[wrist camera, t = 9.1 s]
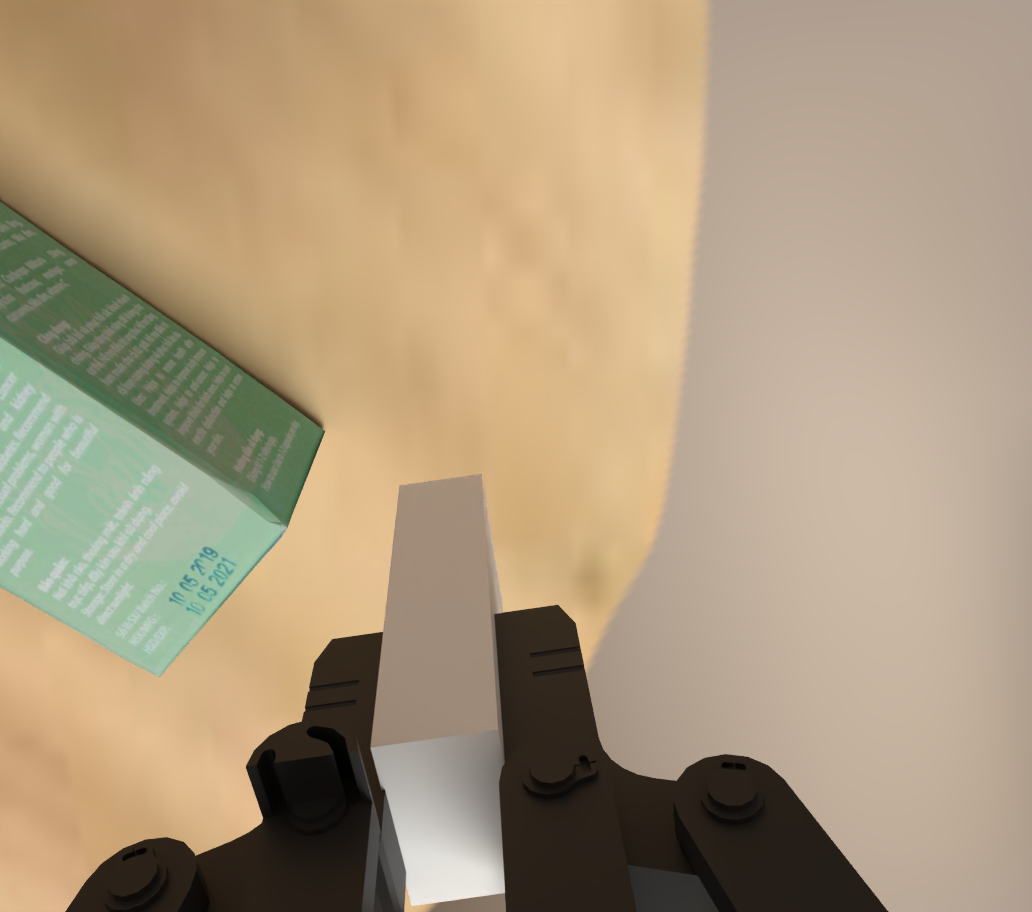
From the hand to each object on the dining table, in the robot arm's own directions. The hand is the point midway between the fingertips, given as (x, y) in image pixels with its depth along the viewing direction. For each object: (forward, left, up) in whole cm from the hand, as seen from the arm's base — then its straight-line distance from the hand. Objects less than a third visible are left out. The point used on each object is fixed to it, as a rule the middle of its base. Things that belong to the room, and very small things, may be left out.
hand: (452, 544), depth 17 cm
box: (+1, -13, -16) cm, 20 cm away
